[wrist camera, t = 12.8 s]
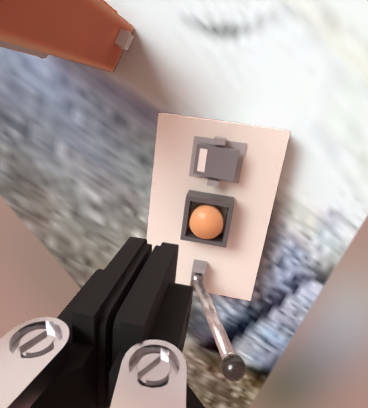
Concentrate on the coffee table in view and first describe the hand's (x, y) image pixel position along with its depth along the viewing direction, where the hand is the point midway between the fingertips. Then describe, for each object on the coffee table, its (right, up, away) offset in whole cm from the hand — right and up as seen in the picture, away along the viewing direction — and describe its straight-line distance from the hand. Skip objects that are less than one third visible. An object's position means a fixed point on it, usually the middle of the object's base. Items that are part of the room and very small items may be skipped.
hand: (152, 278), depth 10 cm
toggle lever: (+3, -7, +26) cm, 27 cm away
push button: (+4, +1, +24) cm, 24 cm away
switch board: (+4, +2, +27) cm, 28 cm away
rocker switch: (+5, +7, +21) cm, 23 cm away
